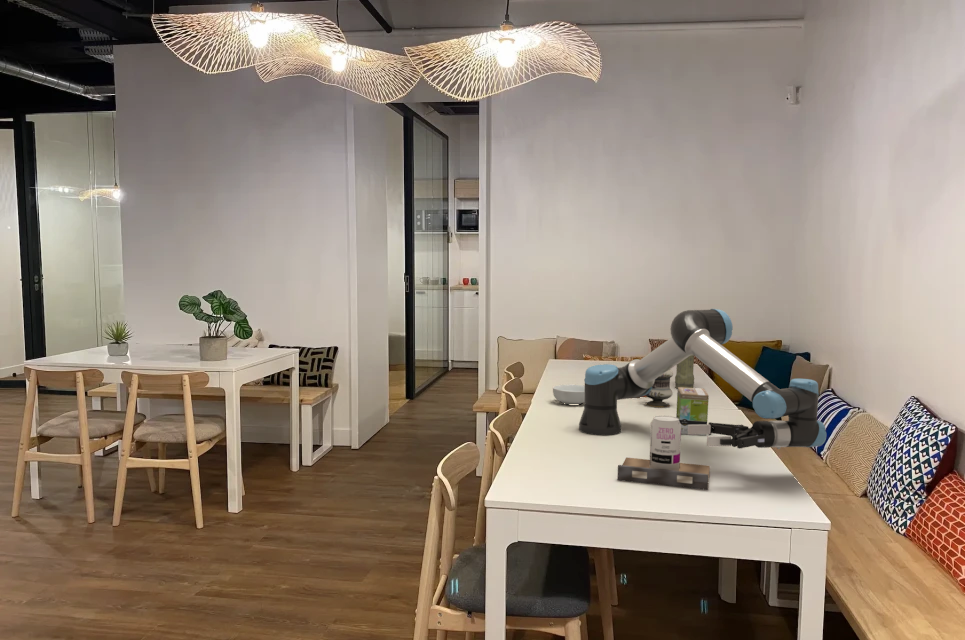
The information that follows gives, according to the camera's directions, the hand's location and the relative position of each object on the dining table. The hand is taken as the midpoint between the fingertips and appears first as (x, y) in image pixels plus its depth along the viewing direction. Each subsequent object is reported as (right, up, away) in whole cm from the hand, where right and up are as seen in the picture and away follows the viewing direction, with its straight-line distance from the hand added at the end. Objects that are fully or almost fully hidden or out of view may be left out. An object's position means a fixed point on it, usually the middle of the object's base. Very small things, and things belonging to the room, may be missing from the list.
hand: (697, 435), depth 200 cm
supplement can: (-9, -10, 0) cm, 14 cm away
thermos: (+37, -1, +144) cm, 149 cm away
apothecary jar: (+14, -4, +103) cm, 104 cm away
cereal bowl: (-22, -4, +105) cm, 107 cm away
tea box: (+15, -8, +58) cm, 60 cm away
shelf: (-9, -12, +2) cm, 15 cm away
